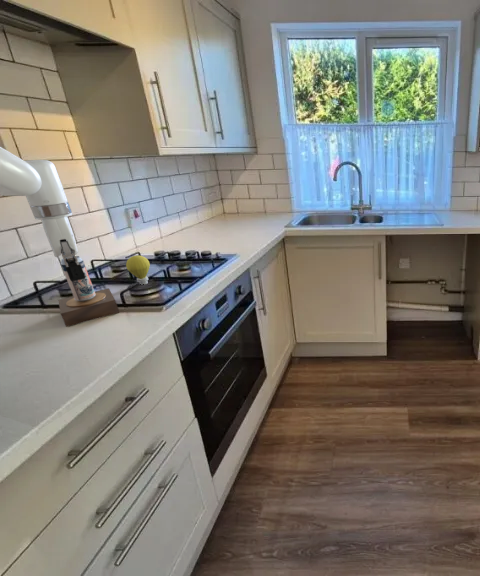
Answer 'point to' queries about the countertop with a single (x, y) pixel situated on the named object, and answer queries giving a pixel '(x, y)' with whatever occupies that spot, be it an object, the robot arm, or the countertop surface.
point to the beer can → (80, 283)
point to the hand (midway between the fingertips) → (77, 276)
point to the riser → (88, 308)
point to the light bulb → (138, 268)
